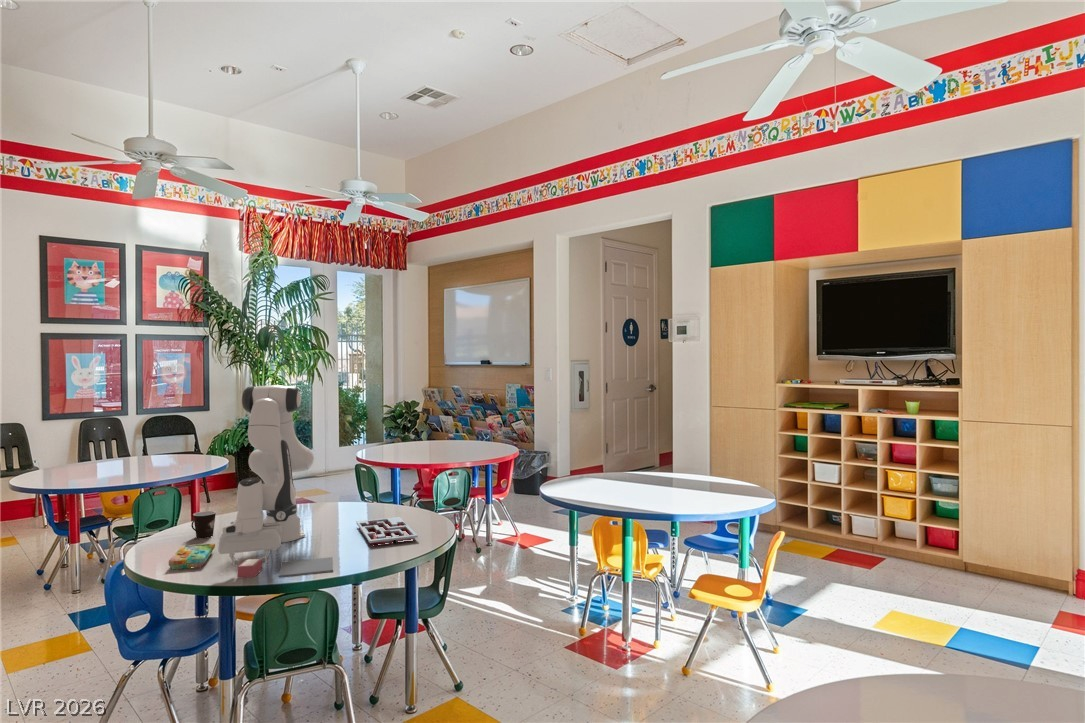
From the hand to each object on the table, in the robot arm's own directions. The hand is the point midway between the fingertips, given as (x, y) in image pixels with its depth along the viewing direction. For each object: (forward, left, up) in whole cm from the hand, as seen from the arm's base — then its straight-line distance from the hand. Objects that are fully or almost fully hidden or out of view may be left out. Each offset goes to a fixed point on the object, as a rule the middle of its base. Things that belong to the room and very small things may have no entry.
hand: (250, 563), depth 230 cm
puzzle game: (-23, -22, -4) cm, 32 cm away
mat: (0, +19, -4) cm, 19 cm away
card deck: (0, 0, -4) cm, 4 cm away
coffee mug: (-59, -25, -4) cm, 64 cm away
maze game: (-37, +50, -4) cm, 62 cm away
